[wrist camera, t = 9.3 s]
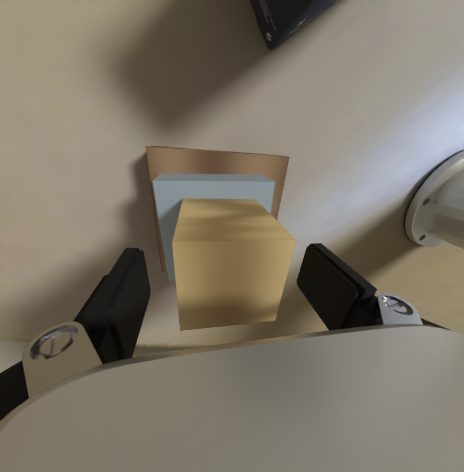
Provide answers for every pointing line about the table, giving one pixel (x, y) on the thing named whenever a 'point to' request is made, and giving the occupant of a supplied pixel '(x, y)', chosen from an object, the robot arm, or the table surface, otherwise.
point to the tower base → (214, 170)
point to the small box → (285, 17)
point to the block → (229, 262)
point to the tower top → (202, 186)
